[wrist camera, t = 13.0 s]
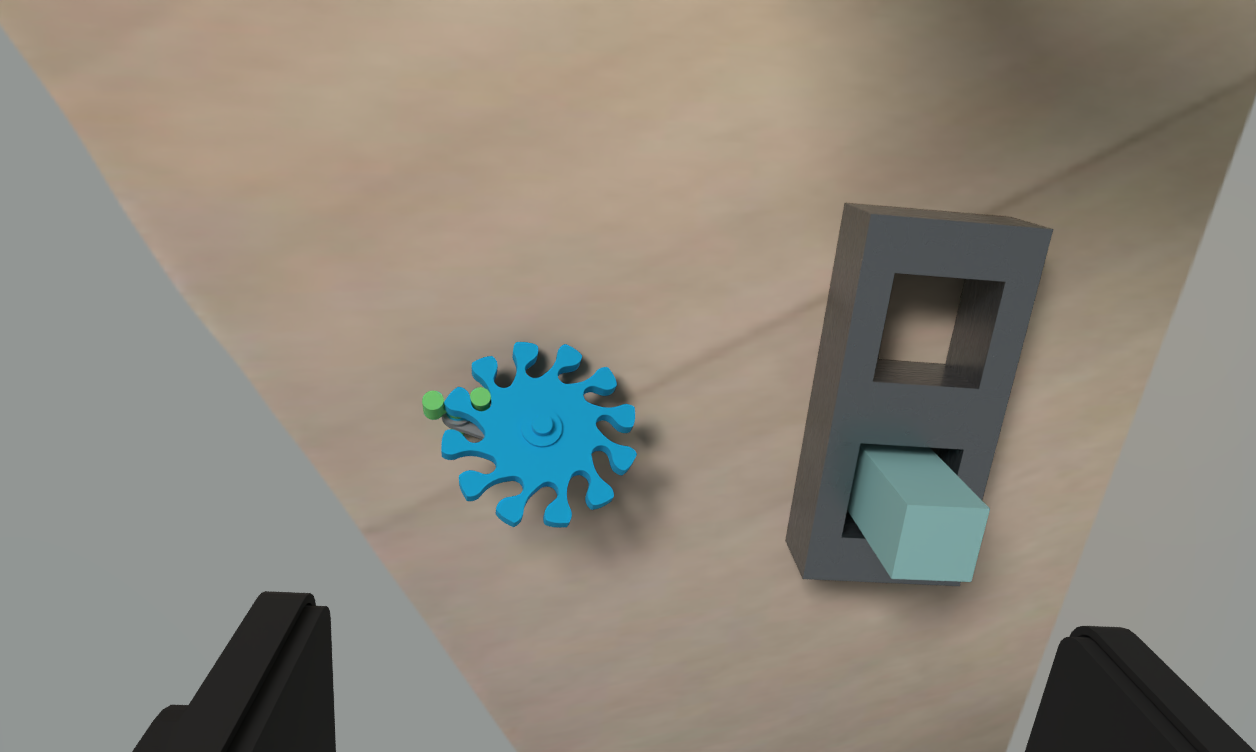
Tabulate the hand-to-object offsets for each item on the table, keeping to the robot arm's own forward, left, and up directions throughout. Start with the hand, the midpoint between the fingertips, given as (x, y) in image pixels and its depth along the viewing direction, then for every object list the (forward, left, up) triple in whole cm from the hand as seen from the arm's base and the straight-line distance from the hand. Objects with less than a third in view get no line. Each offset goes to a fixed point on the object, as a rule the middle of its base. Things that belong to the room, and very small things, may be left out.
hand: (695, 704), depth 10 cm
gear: (+9, -3, -34) cm, 35 cm away
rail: (+7, +16, -33) cm, 38 cm away
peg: (+12, +16, -33) cm, 39 cm away
